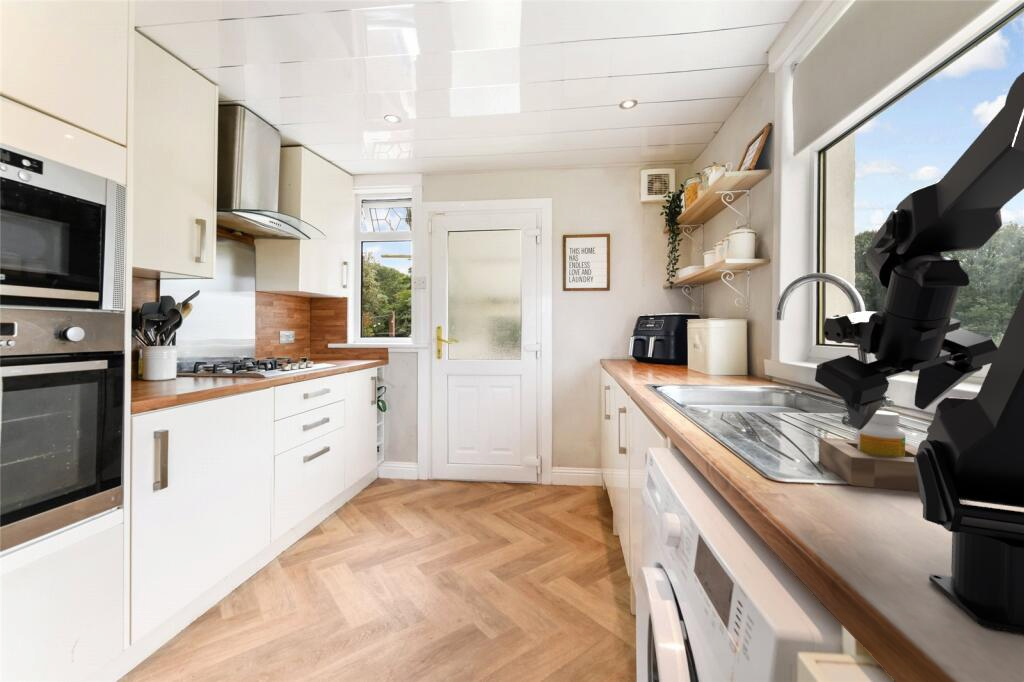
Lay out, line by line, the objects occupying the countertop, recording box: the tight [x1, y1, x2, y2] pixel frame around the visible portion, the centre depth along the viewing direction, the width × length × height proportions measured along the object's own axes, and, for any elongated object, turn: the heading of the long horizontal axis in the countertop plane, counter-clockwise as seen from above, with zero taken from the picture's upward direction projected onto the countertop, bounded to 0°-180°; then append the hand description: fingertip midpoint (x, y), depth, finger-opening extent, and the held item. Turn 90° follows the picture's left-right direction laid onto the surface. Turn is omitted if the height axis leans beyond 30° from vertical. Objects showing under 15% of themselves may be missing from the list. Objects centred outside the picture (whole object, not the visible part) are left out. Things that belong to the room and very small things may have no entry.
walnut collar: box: [818, 436, 920, 493], centre depth 64 cm, size 12×12×4 cm
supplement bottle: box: [857, 409, 906, 457], centre depth 64 cm, size 5×5×10 cm
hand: (888, 417), depth 55 cm, fingers open, 9 cm apart
